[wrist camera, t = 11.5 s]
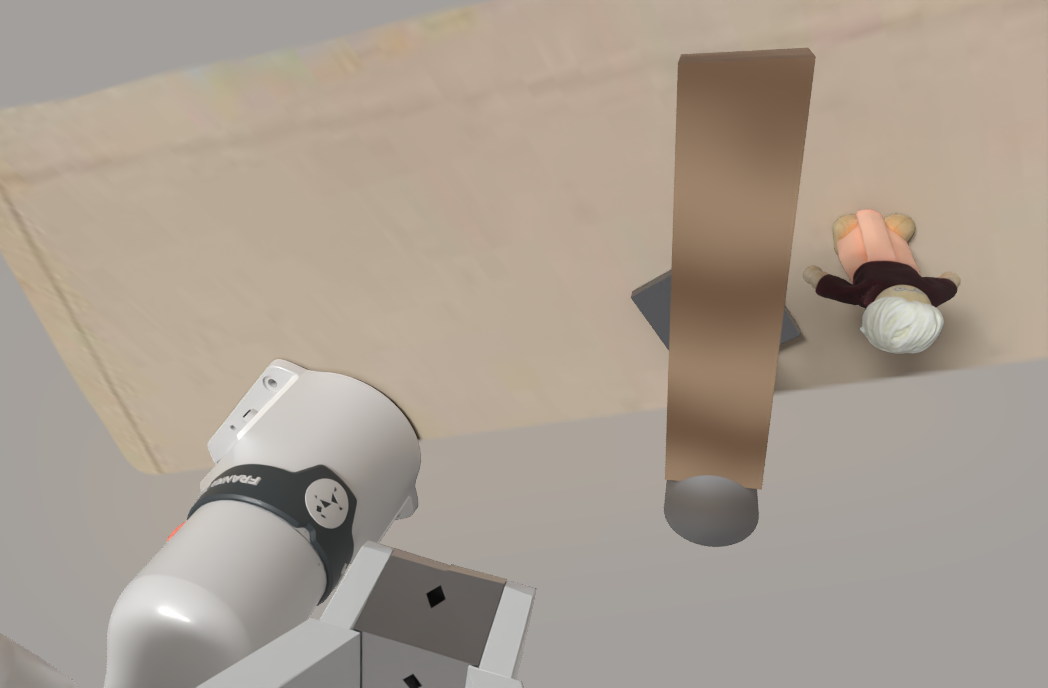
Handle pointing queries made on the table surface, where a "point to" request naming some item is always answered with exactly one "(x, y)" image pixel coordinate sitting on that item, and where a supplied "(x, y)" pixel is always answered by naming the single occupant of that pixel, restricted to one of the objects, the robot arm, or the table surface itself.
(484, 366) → the table surface
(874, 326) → the grandmother figurine
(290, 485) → the robot arm
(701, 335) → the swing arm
